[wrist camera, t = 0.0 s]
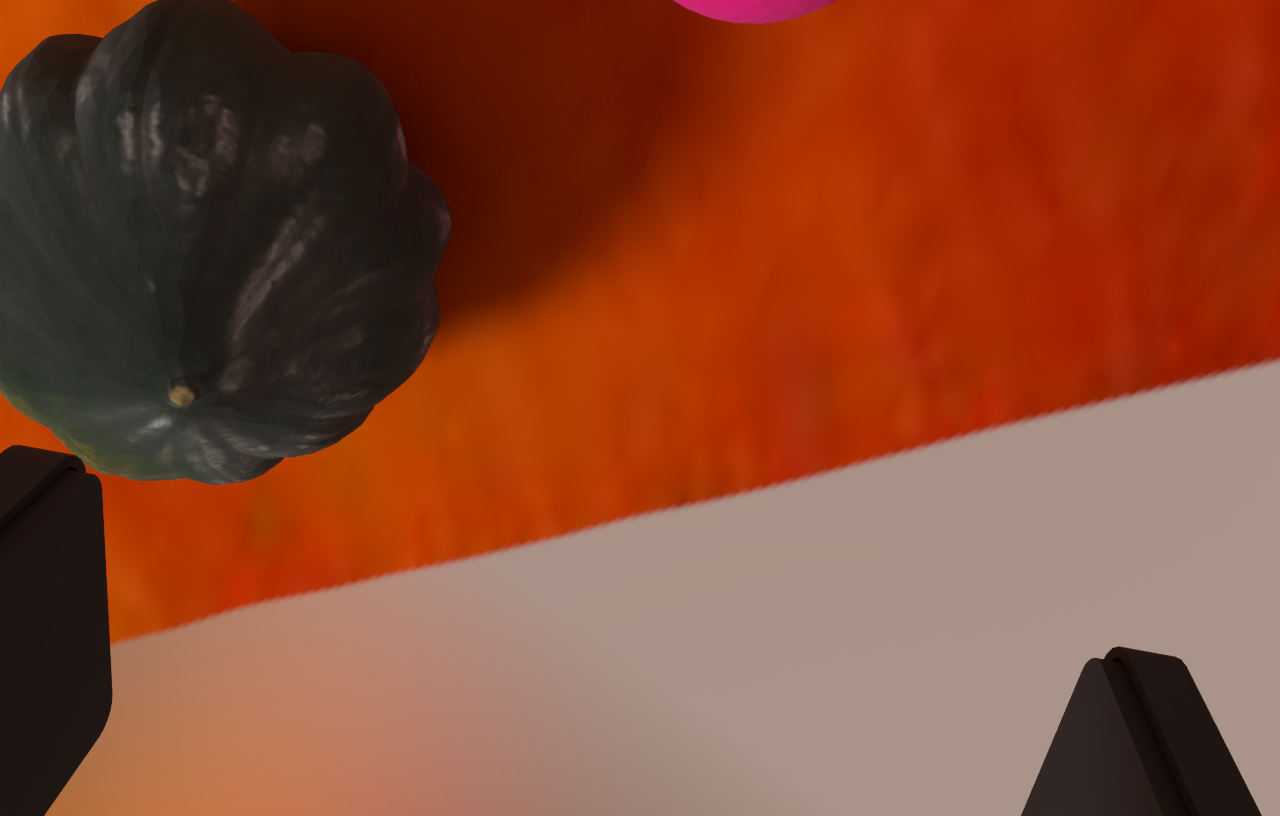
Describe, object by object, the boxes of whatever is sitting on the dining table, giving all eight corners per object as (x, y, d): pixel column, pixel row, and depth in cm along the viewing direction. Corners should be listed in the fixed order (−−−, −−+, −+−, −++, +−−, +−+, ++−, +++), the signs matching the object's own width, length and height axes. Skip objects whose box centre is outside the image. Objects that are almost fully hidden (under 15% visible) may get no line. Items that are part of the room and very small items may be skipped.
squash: (-183, 119, 37) (-162, 544, 30) (158, -200, 33) (273, 210, 26) (182, 285, 49) (257, 617, 42) (467, 68, 45) (602, 397, 38)
